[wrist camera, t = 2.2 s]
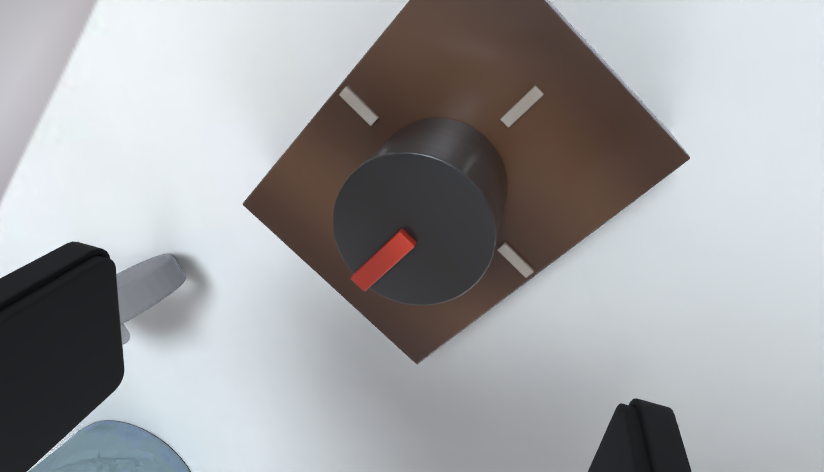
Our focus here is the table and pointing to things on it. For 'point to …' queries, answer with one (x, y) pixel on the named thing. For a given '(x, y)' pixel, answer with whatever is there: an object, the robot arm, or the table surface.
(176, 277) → the wristwatch
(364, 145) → the timer panel
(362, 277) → the timer knob
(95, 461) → the blue-grey cup
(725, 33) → the table surface
